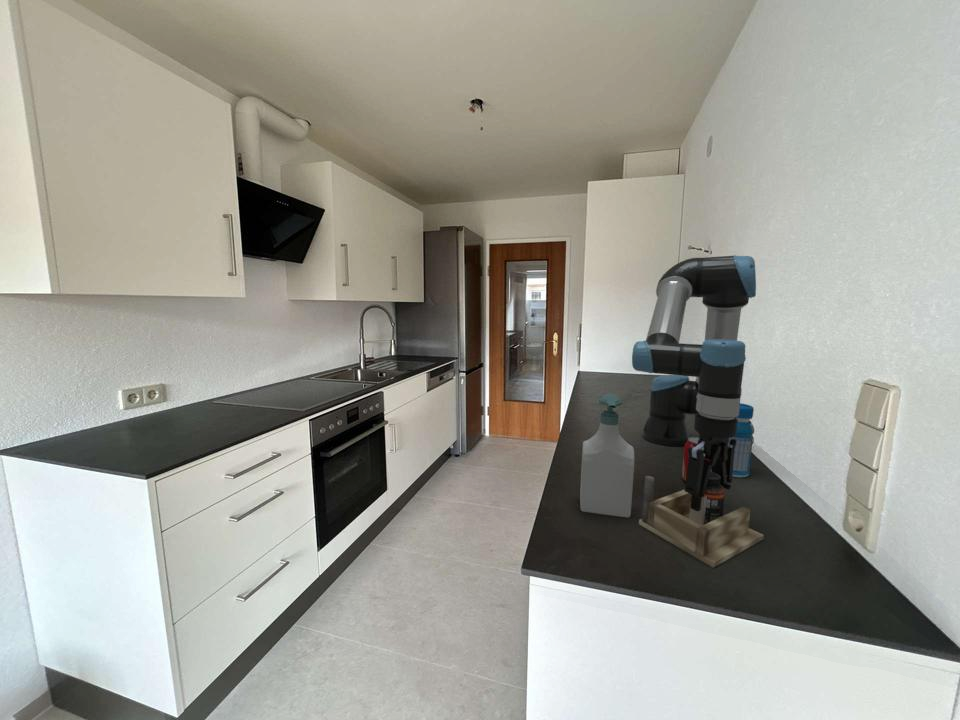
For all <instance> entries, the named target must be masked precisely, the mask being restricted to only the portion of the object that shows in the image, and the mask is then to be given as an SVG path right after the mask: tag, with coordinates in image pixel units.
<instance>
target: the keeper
mask: <svg viewBox="0 0 960 720" xmlns="http://www.w3.org/2000/svg"><path fill="white" fill-rule="evenodd" d="M643 486H644V487H643V498H642V499H643V500H642V511H641V518H640V519H638V525H639V526H641V527H643V528H645V530H648V531H650V532H652V533H654V534H655V535H657V536H658V537H660V538H662V539H663V540H665V541H667V542H668V543H670V544H672V545H673V546H675V547H677V548H679V549H680V550H682V551H684V552H686V553H687V554H689V555H690V556H692V557H694V558H695V559H697V560H699V561H701V562H703V563H704V564H706V565H708V566H709V567H711V568H713V569H714V568H716V567H718V566H719V565H721V564H723V563H724V562H727V561H728V560H729V559H731V558H733V557H735V556H737V555H739V554H740V553H742V552H744V551H746V550H747V549H750V548H751V547H752V546H755V545H756V544H758V543H759V542H761V541H763V540H764V538H765V537H764V536H765V535H764V534H763V533H761V532H758V531H756V530H754V529H752V528H750V527H749V526H750V518H751V509H749V508H746V507H745V506H741V507H739V508H737V509H735V510H732V511H730V512H729V513H726V514H723V516H722V517H720V518H717V519H715V520H713V521H711V522H709V523H707V524H704V525H700V524H698V523H696V522H694V521H692V520H690V519H689V516H690V506H691V496H692V495H691V494H690V493H688V492H685V488H684V489H682V490H679V491H677V492H674V493H672V494H669V495H665V496H663V497H660V498H657V499H654V500H653V498H654V487H655V478H654V476H651V475H646V476H644V485H643Z"/></svg>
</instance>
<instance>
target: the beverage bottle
mask: <svg viewBox="0 0 960 720" xmlns="http://www.w3.org/2000/svg"><path fill="white" fill-rule="evenodd" d="M754 412H755V411H754V406H752V405H750V404H746V403H742V402H740V407H739V415H738V416H737V417H735V418H736V419H737V420H738V424H737V433H736V436H734V437H732V438H731V439H735V440H736V441H737V442H736V446H735V450H734V462H733V475H732V478H747V477H748V476H749V475H750V467H751V458H752V450H753V444H754V441H755V438H754V436H753V434H754V433H755V428H754V424H753V423H752V421H751V420H753V417H754Z"/></svg>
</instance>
